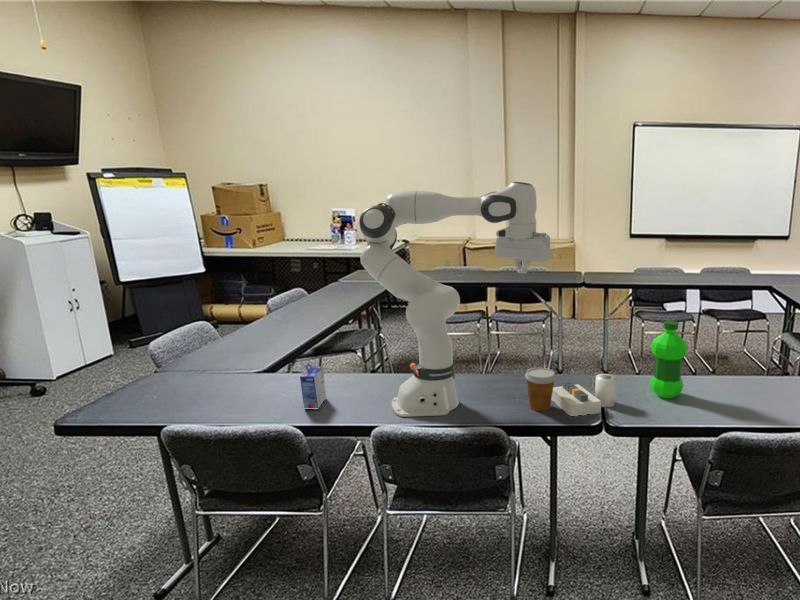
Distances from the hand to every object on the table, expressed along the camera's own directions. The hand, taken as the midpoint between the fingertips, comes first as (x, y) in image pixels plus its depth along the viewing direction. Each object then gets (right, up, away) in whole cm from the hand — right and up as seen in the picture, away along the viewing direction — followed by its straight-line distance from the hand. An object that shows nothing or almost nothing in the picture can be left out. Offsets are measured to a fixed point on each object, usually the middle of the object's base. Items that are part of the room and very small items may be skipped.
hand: (522, 273), depth 174 cm
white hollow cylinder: (+25, -43, -7) cm, 50 cm away
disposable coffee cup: (+4, -44, -7) cm, 45 cm away
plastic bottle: (+47, -41, -3) cm, 62 cm away
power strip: (+14, -42, -3) cm, 45 cm away
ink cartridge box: (-70, -45, +4) cm, 84 cm away
